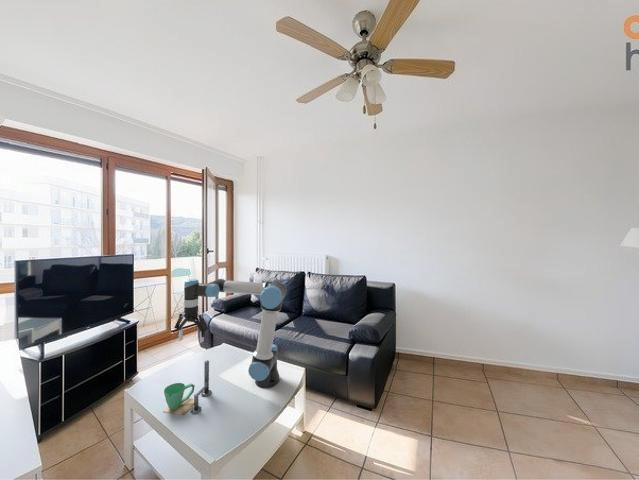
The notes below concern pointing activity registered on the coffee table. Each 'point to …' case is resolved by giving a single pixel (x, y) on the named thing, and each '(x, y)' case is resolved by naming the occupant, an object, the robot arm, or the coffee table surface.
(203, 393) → the metal wall bracket
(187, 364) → the coffee table surface
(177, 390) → the mug
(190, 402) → the coaster
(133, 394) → the coffee table surface
